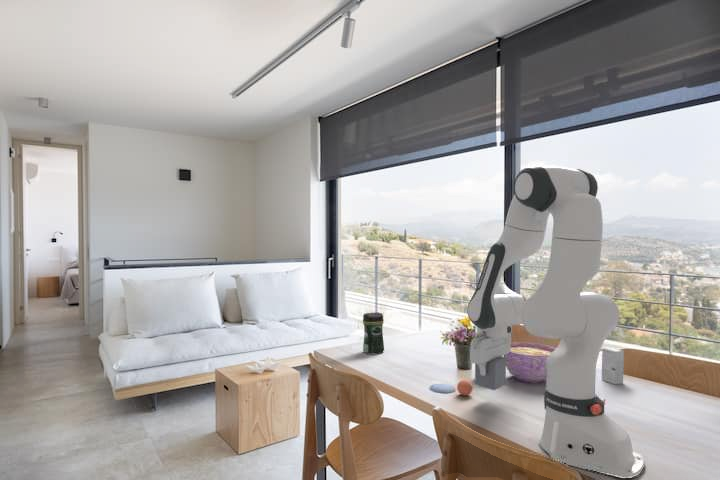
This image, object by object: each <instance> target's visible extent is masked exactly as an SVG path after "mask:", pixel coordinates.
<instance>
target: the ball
mask: <svg viewBox="0 0 720 480" xmlns="http://www.w3.org/2000/svg"><path fill="white" fill-rule="evenodd" d="M456 389H457V391H458V393H459V394H460V395H462V396H469V395H471V394H472V391H473V385H472V383H471V382H470V381H469V380H465V379H462V380H460V381H458V382H457V386H456Z"/></svg>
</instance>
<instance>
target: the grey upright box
mask: <svg viewBox="0 0 720 480" xmlns="http://www.w3.org/2000/svg"><path fill="white" fill-rule="evenodd" d="M474 365H475V366H474V385H476V386H479V387H483V388H486V389H490V390H493V391H496V390H498V389H500V388H503V387H504V386H506V385H507V384H506V383H507V381H506V380H507V374H506V373H507V367H506V358H505V357H504V356H503V357H501V356H500V357H498V358H495V359H493V360H490V361H488V362H486V365H485V367H486V369H487V370H488V372H487V375H485V376H483V375H481V374H480V368H479V366H478V364H474Z"/></svg>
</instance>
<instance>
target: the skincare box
mask: <svg viewBox="0 0 720 480" xmlns="http://www.w3.org/2000/svg"><path fill="white" fill-rule="evenodd" d="M601 349H602V350H601V351H602V352H601V353H602V355H601V380H602V381H604V382H606V383H609V384H613V385H621V384H624V369H625V366H624V364H625V350H622V349H619V348H615V347H611V346H607V347H603V348H602V347H601Z"/></svg>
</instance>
